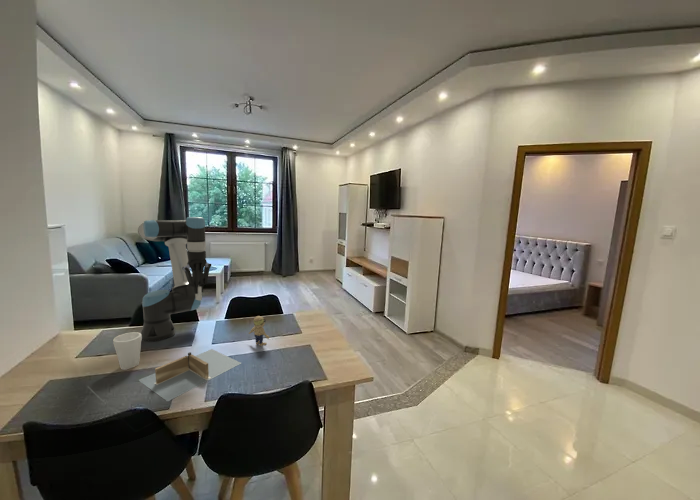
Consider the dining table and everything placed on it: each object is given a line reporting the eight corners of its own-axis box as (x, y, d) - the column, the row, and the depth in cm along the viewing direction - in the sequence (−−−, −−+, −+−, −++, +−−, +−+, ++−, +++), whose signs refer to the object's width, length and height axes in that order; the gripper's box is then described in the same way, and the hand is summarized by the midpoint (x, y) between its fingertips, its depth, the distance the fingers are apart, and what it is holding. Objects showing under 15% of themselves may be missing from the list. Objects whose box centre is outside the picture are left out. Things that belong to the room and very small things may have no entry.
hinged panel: (190, 366, 123) (190, 352, 122) (208, 377, 116) (208, 362, 115) (188, 367, 122) (187, 353, 121) (205, 378, 115) (205, 363, 114)
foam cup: (120, 361, 126) (117, 333, 124) (145, 358, 130) (143, 330, 128) (112, 373, 117) (109, 343, 115) (140, 369, 121) (137, 340, 119)
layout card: (138, 381, 113) (138, 380, 113) (211, 349, 139) (211, 348, 139) (167, 402, 102) (167, 401, 102) (241, 364, 128) (241, 363, 128)
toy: (273, 344, 146) (273, 316, 144) (265, 349, 141) (265, 320, 139) (254, 339, 151) (253, 312, 149) (246, 343, 146) (245, 315, 144)
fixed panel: (156, 382, 112) (155, 368, 111) (187, 368, 122) (186, 355, 121) (157, 384, 111) (156, 369, 110) (188, 369, 121) (188, 356, 120)
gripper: (205, 248, 141) (207, 294, 145) (177, 251, 130) (180, 301, 134) (214, 250, 137) (216, 297, 141) (187, 253, 126) (189, 304, 130)
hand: (198, 299), depth 137 cm, fingers closed
